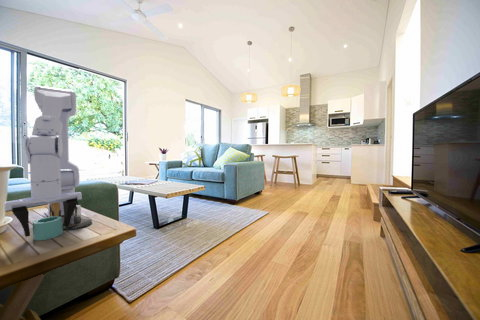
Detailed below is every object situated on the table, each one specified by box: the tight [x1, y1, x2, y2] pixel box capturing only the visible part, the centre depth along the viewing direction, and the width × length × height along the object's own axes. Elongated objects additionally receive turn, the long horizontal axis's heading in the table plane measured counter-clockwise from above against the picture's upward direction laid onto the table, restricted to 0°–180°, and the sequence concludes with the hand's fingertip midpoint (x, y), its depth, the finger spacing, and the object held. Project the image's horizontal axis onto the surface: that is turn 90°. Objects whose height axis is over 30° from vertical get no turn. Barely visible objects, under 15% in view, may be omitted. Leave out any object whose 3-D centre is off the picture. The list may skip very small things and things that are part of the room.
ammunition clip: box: [49, 202, 62, 217], centre depth 61 cm, size 11×2×12 cm, turn 48°
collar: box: [32, 216, 64, 241], centre depth 53 cm, size 5×5×4 cm
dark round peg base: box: [62, 204, 93, 231], centre depth 60 cm, size 7×7×6 cm
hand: (48, 230), depth 53 cm, fingers open, 7 cm apart
